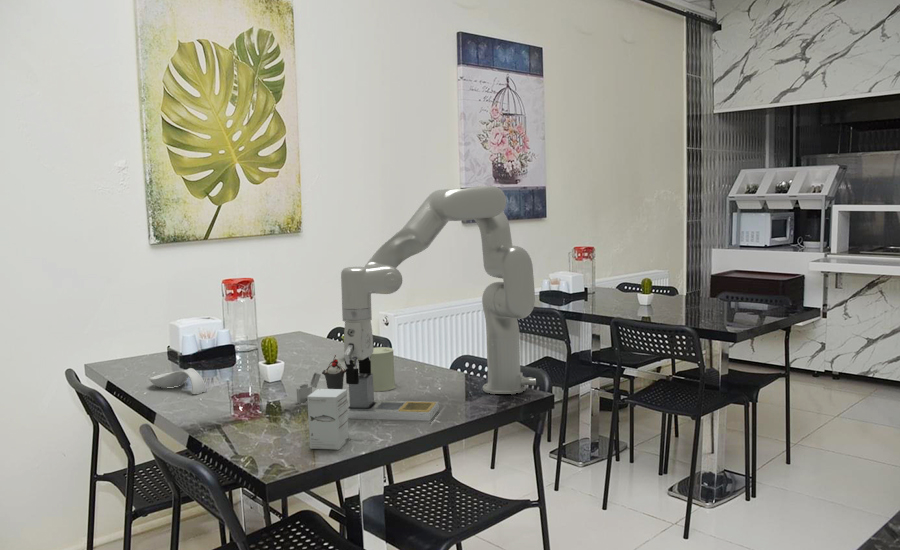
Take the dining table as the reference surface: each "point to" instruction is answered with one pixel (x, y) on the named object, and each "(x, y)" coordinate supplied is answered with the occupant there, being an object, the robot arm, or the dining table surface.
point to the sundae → (334, 375)
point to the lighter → (307, 389)
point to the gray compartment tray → (396, 410)
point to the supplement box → (328, 418)
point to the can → (382, 369)
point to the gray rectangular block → (362, 392)
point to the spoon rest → (180, 380)
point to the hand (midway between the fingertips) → (359, 379)
